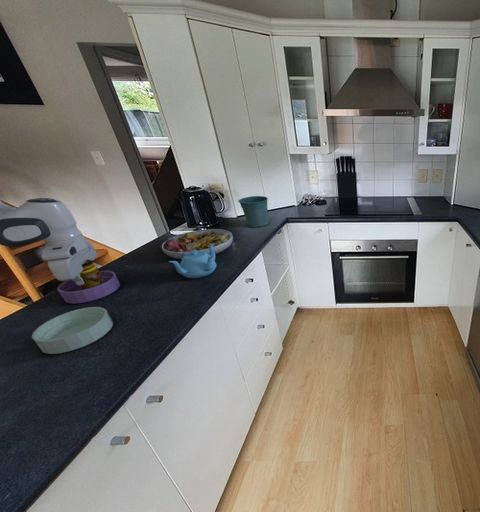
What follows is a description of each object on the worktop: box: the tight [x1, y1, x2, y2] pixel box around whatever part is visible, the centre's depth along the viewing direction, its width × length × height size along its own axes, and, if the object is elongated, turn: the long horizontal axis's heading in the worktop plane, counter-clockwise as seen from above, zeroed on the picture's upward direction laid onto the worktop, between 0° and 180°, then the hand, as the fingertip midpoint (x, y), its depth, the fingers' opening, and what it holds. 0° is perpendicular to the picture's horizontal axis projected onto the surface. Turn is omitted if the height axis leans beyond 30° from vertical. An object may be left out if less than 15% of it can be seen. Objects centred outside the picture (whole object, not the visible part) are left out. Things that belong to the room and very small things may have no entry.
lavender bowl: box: [56, 270, 121, 304], centre depth 101 cm, size 15×15×5 cm
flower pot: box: [238, 195, 270, 228], centre depth 168 cm, size 16×16×16 cm
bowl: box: [161, 228, 234, 260], centre depth 137 cm, size 30×30×8 cm
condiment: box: [77, 260, 105, 291], centre depth 100 cm, size 7×8×12 cm
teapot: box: [168, 243, 217, 279], centre depth 115 cm, size 15×15×10 cm
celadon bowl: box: [31, 306, 114, 355], centre depth 81 cm, size 15×15×5 cm
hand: (86, 279), depth 100 cm, fingers closed on condiment, 6 cm apart
